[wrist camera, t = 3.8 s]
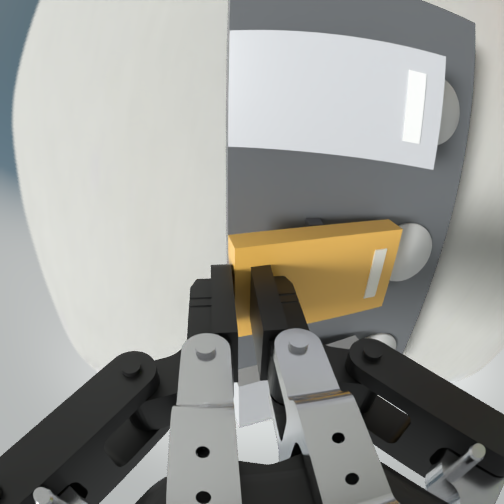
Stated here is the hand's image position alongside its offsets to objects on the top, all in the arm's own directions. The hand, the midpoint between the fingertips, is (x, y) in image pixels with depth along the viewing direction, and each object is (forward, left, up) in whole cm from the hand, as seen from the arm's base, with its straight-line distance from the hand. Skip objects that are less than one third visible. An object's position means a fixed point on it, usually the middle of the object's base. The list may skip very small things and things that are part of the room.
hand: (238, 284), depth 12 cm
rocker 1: (-3, -7, -1) cm, 8 cm away
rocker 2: (-3, 0, -1) cm, 3 cm away
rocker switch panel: (-5, 0, -6) cm, 8 cm away
